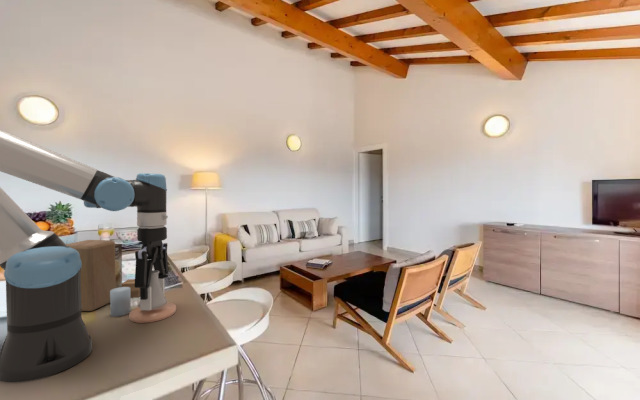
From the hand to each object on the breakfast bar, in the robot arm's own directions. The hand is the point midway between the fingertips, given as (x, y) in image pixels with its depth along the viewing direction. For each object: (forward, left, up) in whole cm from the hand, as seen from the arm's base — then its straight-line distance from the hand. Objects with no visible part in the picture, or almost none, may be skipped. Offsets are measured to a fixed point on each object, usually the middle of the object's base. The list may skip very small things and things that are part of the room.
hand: (153, 304), depth 88 cm
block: (+7, +23, -3) cm, 24 cm away
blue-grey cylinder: (+1, +10, -3) cm, 10 cm away
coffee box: (+22, +28, -3) cm, 36 cm away
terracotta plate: (0, 0, -3) cm, 3 cm away
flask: (0, 0, 0) cm, 0 cm away
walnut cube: (+16, +15, -3) cm, 22 cm away
